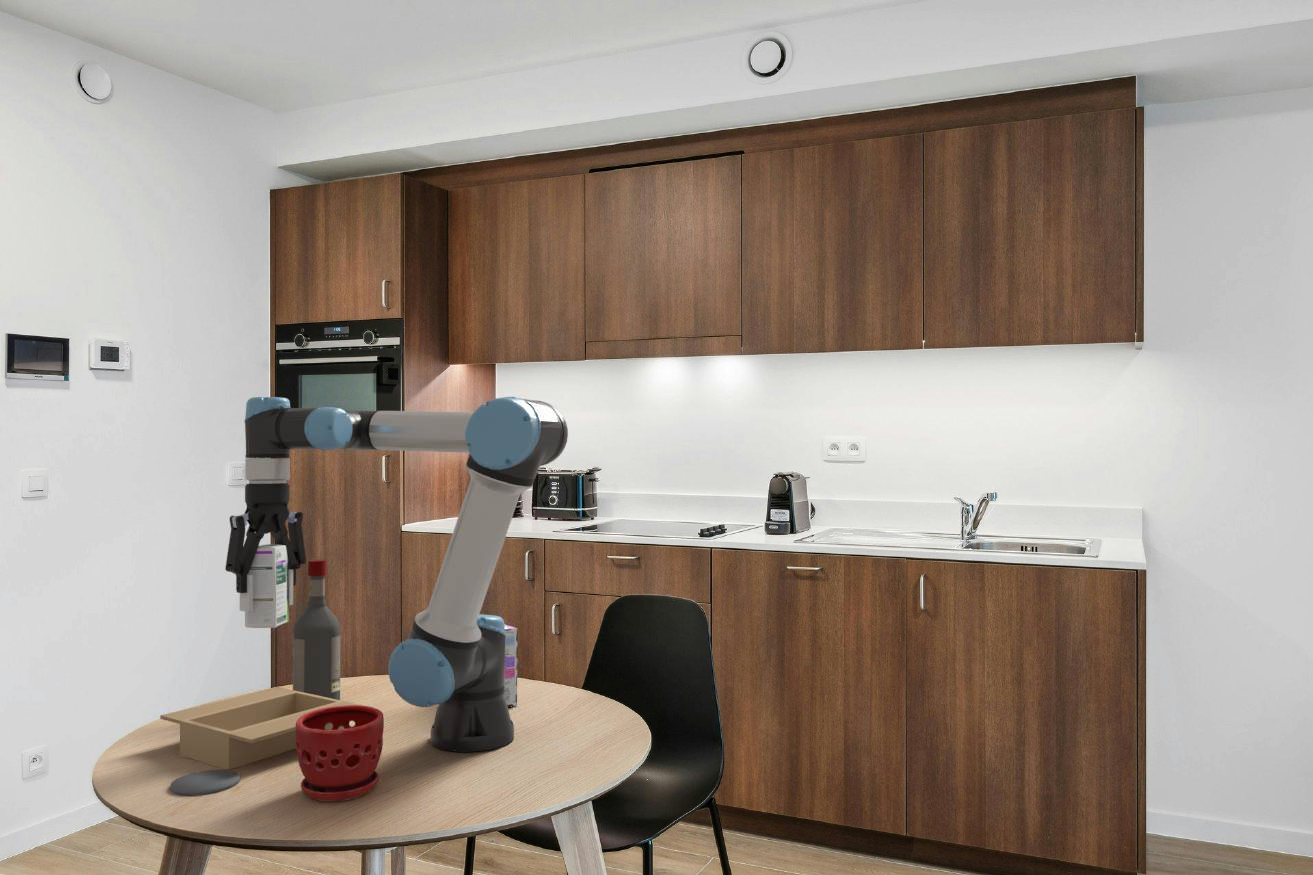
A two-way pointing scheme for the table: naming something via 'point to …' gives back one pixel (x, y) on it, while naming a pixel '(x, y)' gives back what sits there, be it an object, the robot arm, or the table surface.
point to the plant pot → (339, 751)
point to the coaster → (205, 782)
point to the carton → (246, 726)
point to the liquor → (317, 641)
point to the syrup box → (269, 587)
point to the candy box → (511, 666)
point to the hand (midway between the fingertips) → (266, 607)
